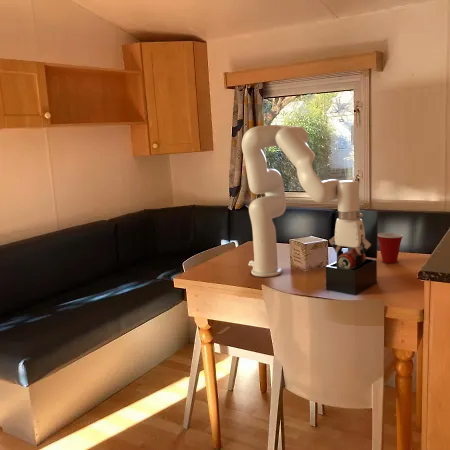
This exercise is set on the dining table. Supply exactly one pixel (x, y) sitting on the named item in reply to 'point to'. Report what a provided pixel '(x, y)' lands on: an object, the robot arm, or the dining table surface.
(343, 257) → the beverage can
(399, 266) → the dining table surface
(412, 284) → the dining table surface
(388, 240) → the plastic cup
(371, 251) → the bin lid
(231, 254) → the dining table surface
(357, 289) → the trash bin
